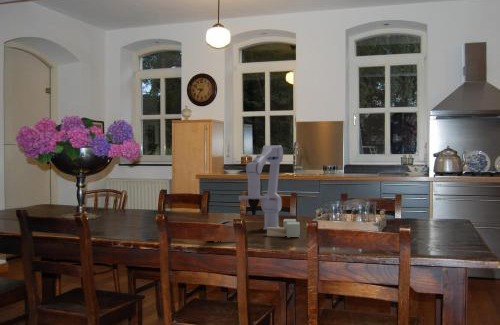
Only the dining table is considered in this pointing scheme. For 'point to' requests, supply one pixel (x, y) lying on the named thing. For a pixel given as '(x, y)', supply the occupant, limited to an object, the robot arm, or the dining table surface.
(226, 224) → the hinge
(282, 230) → the beige rectangular bar
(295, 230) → the end cap
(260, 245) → the dining table surface
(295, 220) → the pale green block
